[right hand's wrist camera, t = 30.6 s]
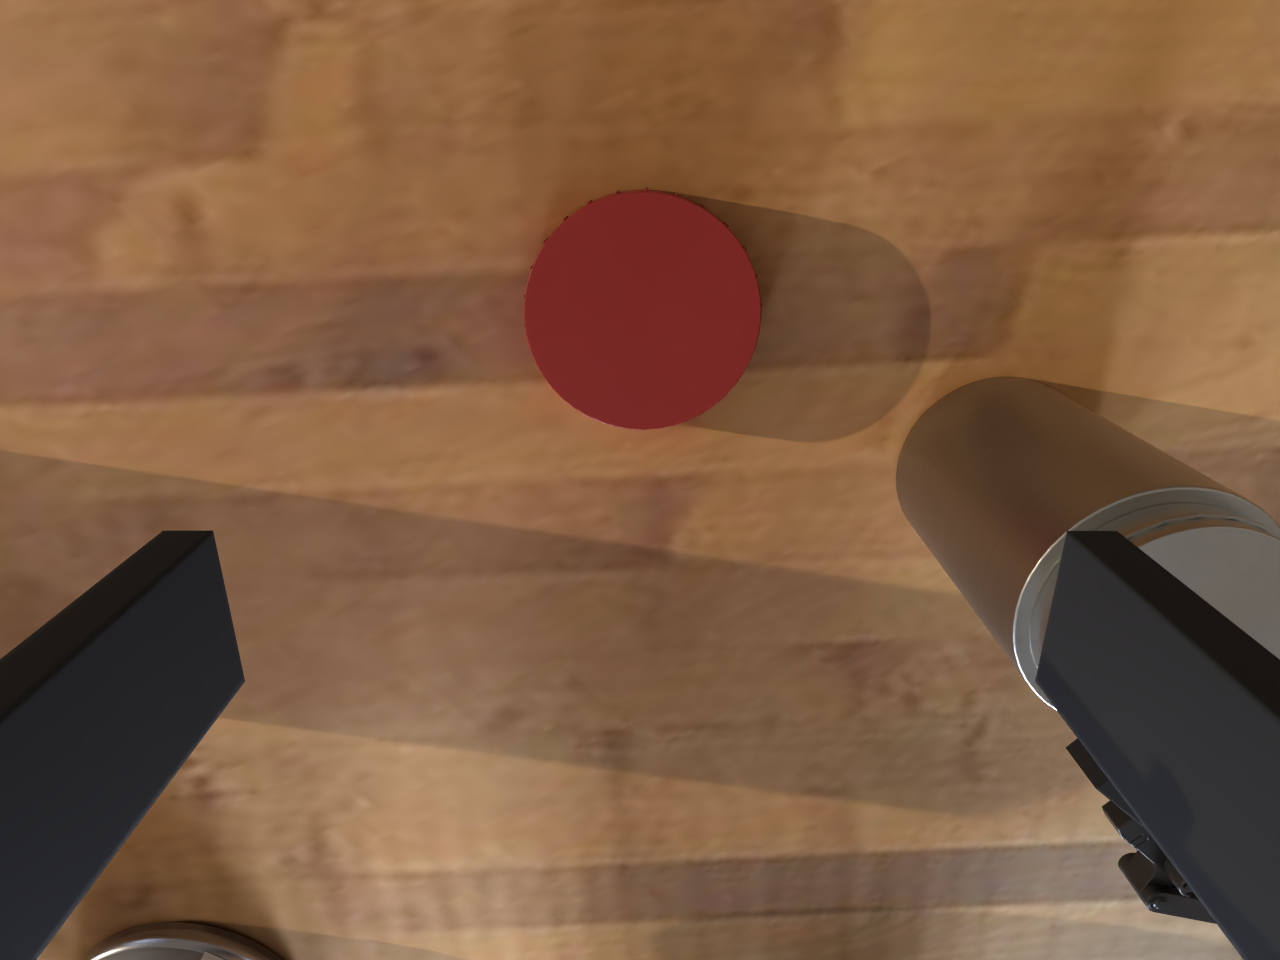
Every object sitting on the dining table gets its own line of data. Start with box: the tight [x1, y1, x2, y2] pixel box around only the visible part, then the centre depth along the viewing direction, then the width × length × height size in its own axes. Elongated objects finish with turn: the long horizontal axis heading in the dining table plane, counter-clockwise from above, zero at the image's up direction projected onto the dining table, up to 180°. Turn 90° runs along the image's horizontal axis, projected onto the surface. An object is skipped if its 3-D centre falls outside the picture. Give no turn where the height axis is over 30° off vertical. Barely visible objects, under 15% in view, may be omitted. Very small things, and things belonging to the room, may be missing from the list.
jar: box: [896, 377, 1280, 710], centre depth 33 cm, size 9×9×15 cm
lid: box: [524, 188, 762, 430], centre depth 36 cm, size 10×10×2 cm
